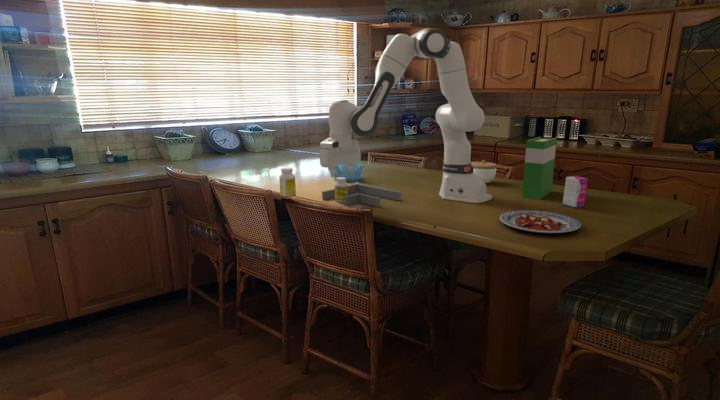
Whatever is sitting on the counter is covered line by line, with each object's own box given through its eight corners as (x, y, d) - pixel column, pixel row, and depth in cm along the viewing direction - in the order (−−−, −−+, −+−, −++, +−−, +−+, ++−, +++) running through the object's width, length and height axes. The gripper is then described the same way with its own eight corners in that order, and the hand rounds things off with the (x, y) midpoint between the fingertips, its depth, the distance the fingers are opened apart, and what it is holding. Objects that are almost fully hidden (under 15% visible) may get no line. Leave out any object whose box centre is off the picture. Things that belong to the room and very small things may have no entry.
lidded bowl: (499, 181, 232) (500, 159, 230) (491, 186, 222) (492, 163, 219) (474, 178, 239) (475, 157, 236) (465, 183, 229) (466, 160, 226)
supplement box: (574, 208, 183) (577, 179, 180) (562, 205, 188) (565, 176, 185) (584, 206, 185) (588, 178, 183) (572, 203, 190) (575, 175, 188)
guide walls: (400, 200, 197) (401, 192, 196) (366, 210, 182) (366, 201, 181) (357, 191, 213) (357, 183, 213) (322, 199, 198) (322, 191, 198)
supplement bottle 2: (347, 199, 199) (347, 176, 197) (348, 202, 194) (347, 179, 192) (334, 199, 199) (334, 176, 197) (335, 202, 194) (334, 179, 191)
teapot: (360, 176, 248) (359, 155, 245) (365, 181, 233) (365, 160, 231) (331, 177, 245) (330, 156, 243) (334, 183, 231) (334, 161, 228)
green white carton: (534, 189, 215) (539, 136, 209) (551, 191, 211) (556, 137, 205) (522, 196, 202) (526, 140, 196) (539, 199, 197) (545, 141, 191)
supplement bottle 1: (299, 197, 203) (298, 167, 200) (290, 200, 197) (289, 170, 194) (285, 195, 206) (284, 166, 203) (277, 199, 200) (275, 169, 197)
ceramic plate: (490, 230, 157) (490, 221, 156) (510, 212, 178) (510, 204, 178) (573, 243, 144) (574, 234, 143) (584, 222, 165) (585, 214, 165)
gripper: (353, 138, 200) (353, 170, 204) (316, 143, 186) (318, 178, 189) (363, 139, 196) (364, 172, 199) (327, 145, 182) (328, 180, 185)
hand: (341, 175), depth 194 cm, fingers open, 8 cm apart
